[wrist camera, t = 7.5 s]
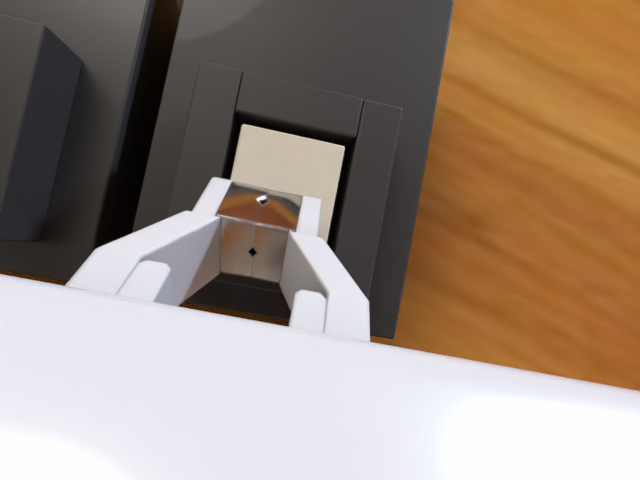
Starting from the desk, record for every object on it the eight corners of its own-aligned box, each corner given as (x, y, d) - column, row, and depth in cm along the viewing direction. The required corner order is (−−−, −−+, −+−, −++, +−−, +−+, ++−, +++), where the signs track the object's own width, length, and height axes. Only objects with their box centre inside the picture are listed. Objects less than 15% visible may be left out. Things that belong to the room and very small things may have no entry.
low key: (320, 249, 12) (326, 248, 10) (230, 231, 12) (219, 227, 10) (337, 161, 12) (345, 145, 10) (248, 141, 12) (241, 122, 10)
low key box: (362, 313, 17) (413, 355, 10) (171, 279, 16) (85, 298, 9) (406, 73, 18) (483, -44, 11) (224, 29, 17) (181, -126, 10)
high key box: (149, 275, 16) (46, 291, 9) (-62, 236, 16) (-344, 223, 9) (203, 24, 17) (144, -136, 10) (3, -24, 16) (-211, -233, 9)
